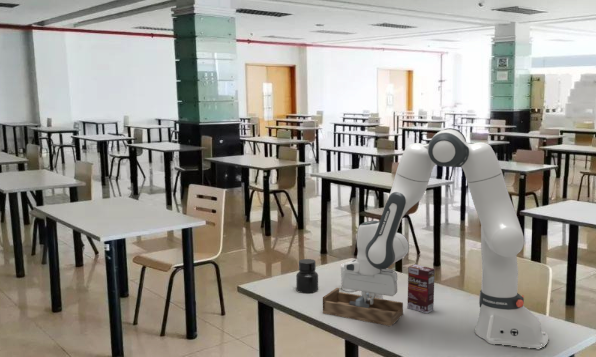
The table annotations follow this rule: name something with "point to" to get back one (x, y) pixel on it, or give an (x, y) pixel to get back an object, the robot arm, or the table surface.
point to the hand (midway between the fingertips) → (368, 303)
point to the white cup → (341, 278)
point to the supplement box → (421, 288)
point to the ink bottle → (307, 276)
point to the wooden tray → (362, 308)
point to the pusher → (360, 302)
